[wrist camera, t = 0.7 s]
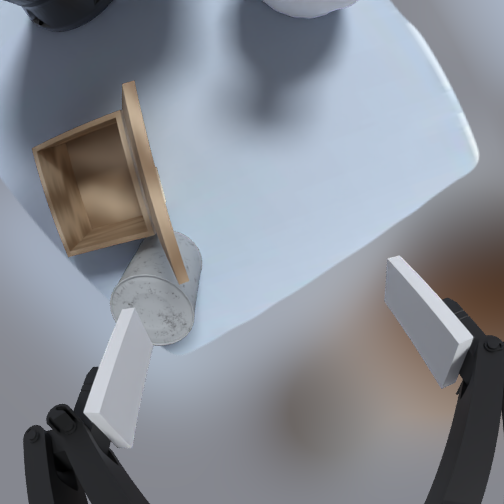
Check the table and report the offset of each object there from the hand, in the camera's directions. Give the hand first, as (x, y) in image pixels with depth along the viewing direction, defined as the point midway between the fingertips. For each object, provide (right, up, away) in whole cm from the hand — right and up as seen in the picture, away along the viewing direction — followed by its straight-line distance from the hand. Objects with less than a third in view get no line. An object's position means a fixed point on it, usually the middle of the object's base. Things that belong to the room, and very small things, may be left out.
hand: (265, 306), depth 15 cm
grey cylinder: (-12, +1, +28) cm, 30 cm away
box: (-19, +13, +22) cm, 31 cm away
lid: (-10, +9, +9) cm, 16 cm away
